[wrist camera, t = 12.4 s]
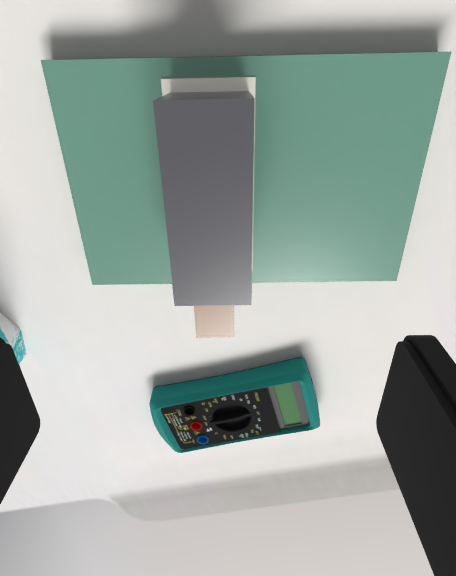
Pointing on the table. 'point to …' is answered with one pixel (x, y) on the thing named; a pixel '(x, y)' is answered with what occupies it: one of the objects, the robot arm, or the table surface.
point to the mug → (12, 337)
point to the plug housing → (208, 201)
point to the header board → (255, 158)
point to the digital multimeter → (236, 406)
